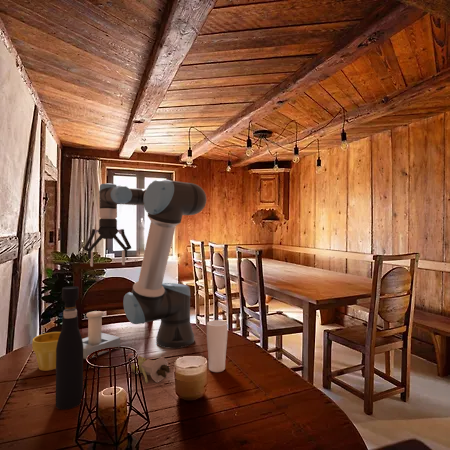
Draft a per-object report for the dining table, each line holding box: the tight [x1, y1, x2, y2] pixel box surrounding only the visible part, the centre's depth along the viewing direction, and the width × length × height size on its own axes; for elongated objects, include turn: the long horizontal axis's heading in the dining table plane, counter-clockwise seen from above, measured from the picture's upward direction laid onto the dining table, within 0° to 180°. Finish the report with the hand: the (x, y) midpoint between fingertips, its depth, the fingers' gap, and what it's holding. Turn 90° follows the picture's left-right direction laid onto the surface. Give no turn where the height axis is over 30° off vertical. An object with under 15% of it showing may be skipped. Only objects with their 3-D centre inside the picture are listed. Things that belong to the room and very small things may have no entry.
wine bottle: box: [55, 285, 84, 411], centre depth 84 cm, size 6×6×30 cm
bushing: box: [86, 310, 104, 346], centre depth 120 cm, size 6×6×14 cm
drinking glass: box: [206, 319, 229, 373], centre depth 105 cm, size 7×7×15 cm
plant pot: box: [31, 331, 61, 372], centre depth 106 cm, size 10×10×10 cm
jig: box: [82, 332, 121, 360], centre depth 121 cm, size 11×15×4 cm
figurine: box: [127, 353, 171, 384], centre depth 99 cm, size 9×7×15 cm
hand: (107, 265), depth 146 cm, fingers open, 13 cm apart
